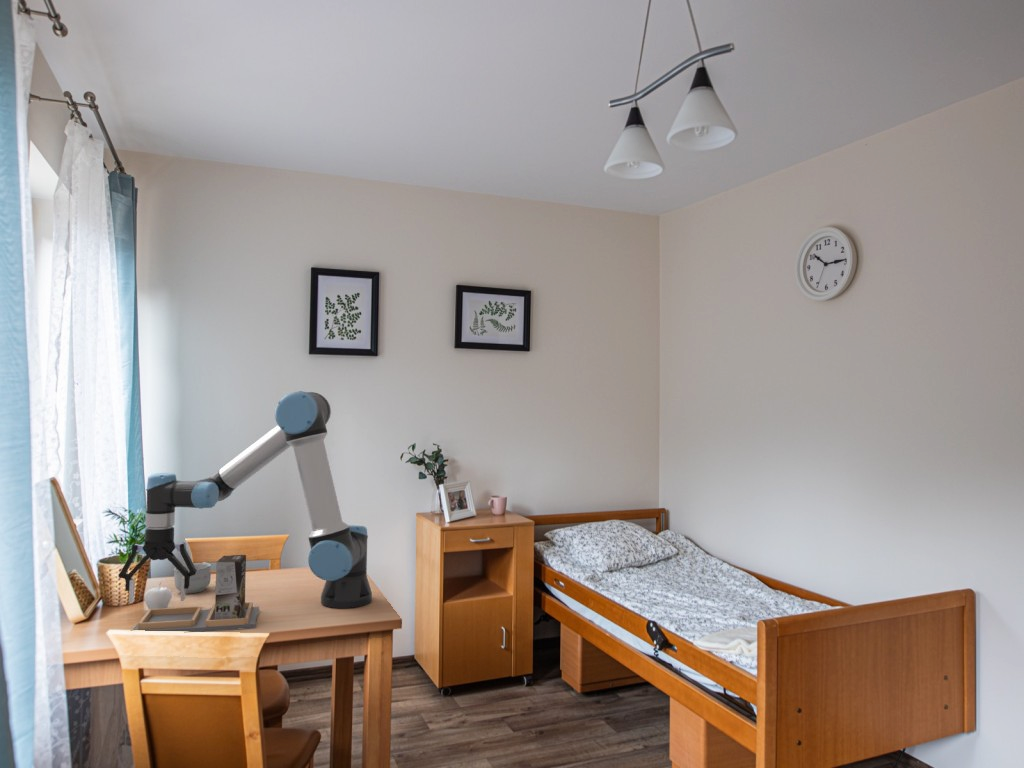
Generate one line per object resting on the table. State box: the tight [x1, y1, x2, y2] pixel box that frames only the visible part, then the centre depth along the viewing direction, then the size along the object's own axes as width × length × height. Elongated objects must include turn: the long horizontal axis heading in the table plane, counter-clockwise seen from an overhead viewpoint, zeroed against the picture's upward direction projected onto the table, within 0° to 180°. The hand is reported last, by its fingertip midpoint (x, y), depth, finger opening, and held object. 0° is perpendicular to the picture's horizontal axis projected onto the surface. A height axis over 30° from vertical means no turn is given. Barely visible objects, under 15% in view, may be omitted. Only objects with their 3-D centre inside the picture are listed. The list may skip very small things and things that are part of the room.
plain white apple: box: [144, 580, 173, 610], centre depth 210 cm, size 7×7×8 cm
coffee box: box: [214, 554, 247, 620], centre depth 202 cm, size 9×6×16 cm
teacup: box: [173, 561, 212, 594], centre depth 232 cm, size 14×11×8 cm
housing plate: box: [132, 601, 260, 632], centre depth 199 cm, size 30×17×2 cm, turn 105°
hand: (157, 601), depth 210 cm, fingers open, 13 cm apart
